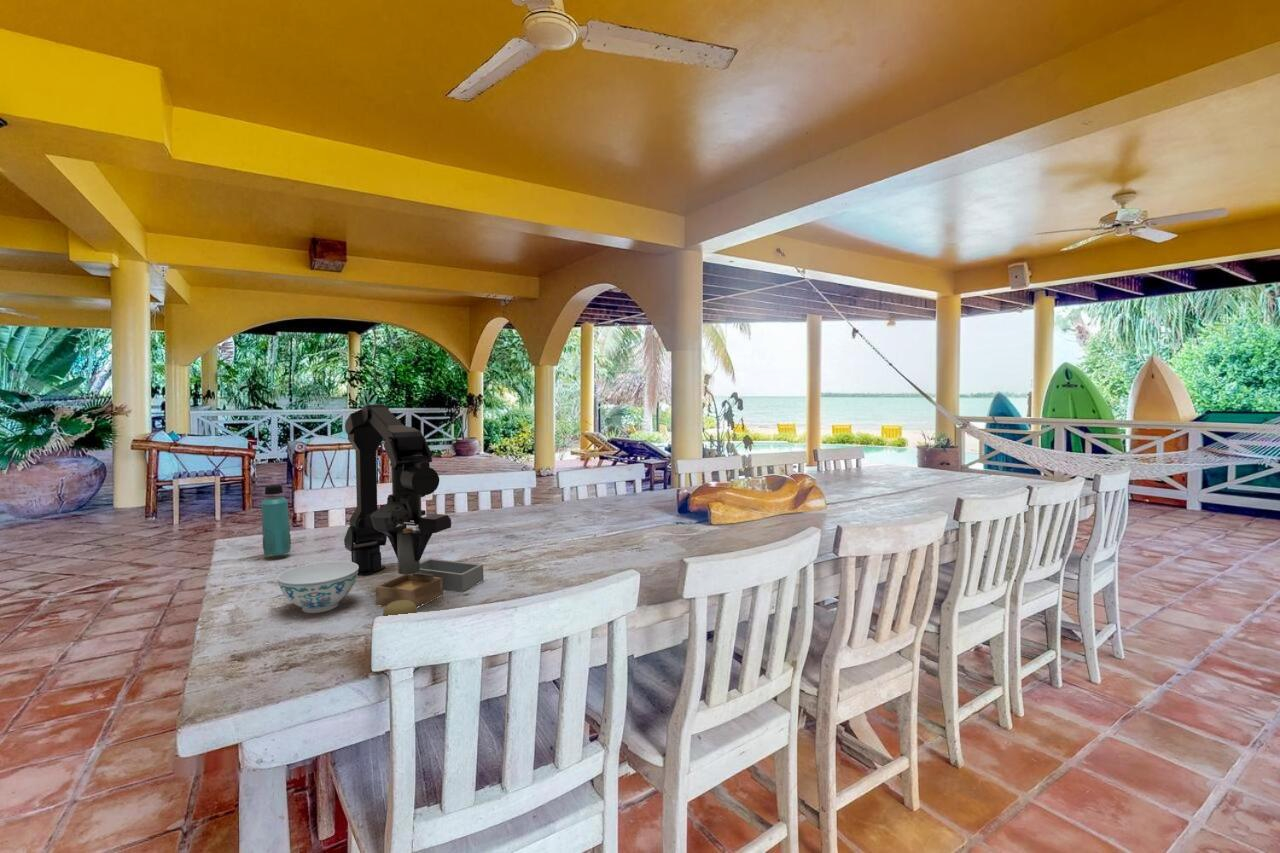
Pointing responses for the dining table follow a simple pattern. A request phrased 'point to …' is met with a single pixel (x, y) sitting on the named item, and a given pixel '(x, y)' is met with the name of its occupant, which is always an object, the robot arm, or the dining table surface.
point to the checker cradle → (417, 595)
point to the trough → (453, 573)
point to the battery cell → (406, 553)
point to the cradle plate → (409, 585)
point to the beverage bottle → (275, 523)
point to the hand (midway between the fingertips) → (408, 559)
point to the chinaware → (318, 584)
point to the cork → (400, 610)
